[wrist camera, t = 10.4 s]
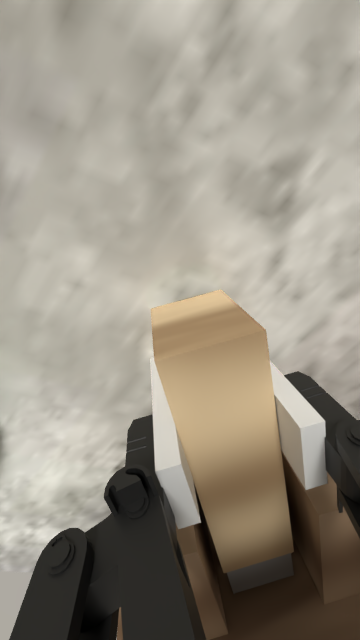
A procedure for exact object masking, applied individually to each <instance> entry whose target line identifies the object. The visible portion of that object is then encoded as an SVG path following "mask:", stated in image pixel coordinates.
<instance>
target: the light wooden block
mask: <svg viewBox="0 0 360 640" xmlns="http://www.w3.org/2000/svg"><path fill="white" fill-rule="evenodd" d="M151 320H152V334H153V349H154V362H155V365H156V368H157V371H158V374H159V377H160V380H161V383H162V386H163V389H164V392H165V395H166V398H167V402H168V405H169V408H170V411H171V414H172V417H173V420H174V423H175V426H176V429H177V432H178V435H179V438H180V441H181V444H182V447H183V450H184V453H185V456H186V459H187V462H188V465H189V468H190V471H191V474H192V477H193V481H194V484H195V487H196V490H197V493H198V496H199V500H200V503H201V506H202V509H203V512H204V515H205V518H206V521H207V524H208V527H209V530H210V533H211V536H212V539H213V542H214V545H215V549H216V552H217V555H218V558H219V561H220V564H221V567H222V570H223V573H227V575H228V578H229V581H230V585H231V588H232V591H233V594H235V593H238V592H241V591H244V590H247V589H251V588H254V587H257V586H260V585H264V584H267V583H270V582H273V581H276V580H280V579H283V578H286V577H289V576H293V575H294V571H293V564H292V556H291V553H292V552H294V548H293V540H292V532H291V524H290V516H289V508H288V501H287V493H286V485H285V477H284V469H283V461H282V453H281V445H280V438H279V430H278V422H277V414H276V406H275V398H274V390H273V382H272V375H271V367H270V359H269V351H268V343H267V335H266V330H265V329H264V328H263V327H262V326H261V325H260V324H259V323H257V322H256V321H255V320H254V319H253V318H252V317H251V316H250V315H249V314H247V313H246V312H245V311H244V310H243V309H242V308H241V307H240V306H239V305H237V304H236V303H235V302H234V301H233V300H232V299H231V298H230V297H229V296H228V295H226V294H225V293H224V292H223V291H222V290H218V291H214V292H210V293H207V294H203V295H199V296H196V297H192V298H188V299H185V300H181V301H177V302H174V303H170V304H166V305H163V306H159V307H156V308H152V309H151Z"/></svg>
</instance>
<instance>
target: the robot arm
mask: <svg viewBox="0 0 360 640" xmlns="http://www.w3.org/2000/svg"><path fill="white" fill-rule="evenodd" d="M150 364H151V387H152V410H153V415H149V416H146V417H142V418H139V419H135V420H133V422H132V424H131V426H130V428H129V430H128V438H127V443H128V444H127V450H126V451H127V453H126V463H125V467H123V468H122V469H120V470H119V471H117V472H116V473H115V474H114V475H113V476H112V477H111V479H110V480H109V482H108V484H107V486H106V488H105V493H104V499H105V501H106V503H107V504H108V506H109V508H110V510H111V512H112V513H111V514H110V515H109V516H108V517H107V518H106V519H104V520H103V521H102V522H100V523H99V524H97V525H96V526H94V527H93V528H91V529H90V530H88V531H87V532H85V533H84V532H83V531H82V530H80V529H79V528H69V529H67V530H64V531H62V532H60V533H59V534H58V535H57V536H55V537H54V538H53V539H52V540H51V541H50V542H49V543H48V544H47V546H46V547H45V548H44V550H43V551H42V553H41V555H40V557H39V559H38V561H37V563H36V566H35V569H34V572H33V575H32V577H31V580H30V583H29V586H28V589H27V591H26V594H25V597H24V600H23V603H22V605H21V608H20V611H19V614H18V617H17V620H16V623H15V625H14V628H13V631H12V634H11V636H10V639H9V640H116V637H117V627H118V617H119V608H120V607H121V619H122V633H123V640H206V637H205V633H204V629H203V626H202V622H201V619H200V615H199V611H198V608H197V604H196V601H195V597H194V593H193V590H192V586H191V583H190V579H189V576H188V572H187V568H186V565H185V561H184V558H183V554H182V550H181V547H180V544H179V542H178V540H177V533H176V525H177V527H178V529H181V528H185V527H188V526H191V525H194V524H198V523H201V520H200V514H199V509H198V504H197V498H196V493H195V488H194V482H193V477H192V474H191V471H190V468H189V465H188V462H187V459H186V456H185V453H184V450H183V447H182V444H181V441H180V438H179V435H178V432H177V429H176V426H175V423H174V420H173V417H172V414H171V411H170V408H169V405H168V402H167V398H166V395H165V392H164V389H163V386H162V383H161V380H160V377H159V374H158V371H157V368H156V365H155V362H154V357H153V358H150ZM270 367H271V375H272V382H273V390H274V398H275V406H276V414H277V422H278V430H279V438H280V445H281V450H282V452H283V453H284V455H285V457H286V458H287V460H288V462H289V463H290V465H291V467H292V468H293V470H294V472H295V473H296V475H297V477H298V478H299V480H300V482H301V483H302V485H303V486H304V488H305V490H308V489H311V488H315V487H318V486H321V485H324V484H327V483H328V480H327V472H328V473H329V475H330V476H331V478H332V479H333V480H334V482H335V483H336V484H337V507H338V511H339V513H343V507H344V509H345V511H346V513H347V515H348V517H349V519H350V521H351V523H352V524H353V526H354V528H355V530H356V532H357V534H358V536H359V538H360V420H356V419H355V418H354V417H353V416H352V415H350V414H349V413H348V412H347V411H346V410H345V409H344V408H343V407H342V406H341V405H340V404H339V403H338V402H336V401H335V400H334V399H333V398H332V397H331V396H330V395H329V394H328V393H326V391H325V390H324V389H322V388H321V387H320V386H319V385H318V384H317V383H316V382H315V381H314V380H313V379H312V378H311V377H309V376H307V375H305V374H303V373H300V372H298V371H297V372H294V373H291V374H287V375H283V374H282V373H281V372H280V371H279V370H278V369H277V368H276V367H275V365H274V364H273V363H272V362H271V361H270ZM175 522H176V523H175Z"/></svg>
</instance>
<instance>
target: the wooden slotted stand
mask: <svg viewBox="0 0 360 640" xmlns="http://www.w3.org/2000/svg"><path fill="white" fill-rule="evenodd" d="M281 453H282V461H283V469H284V477H285V485H286V493H287V501H288V508H289V516H290V524H291V532H292V540H293V548H294V552H292V553H291V556H292V564H293V571H294V575H293V576H289V577H286V578H283V579H280V580H276V581H273V582H270V583H267V584H264V585H260V586H257V587H254V588H251V589H247V590H244V591H241V592H238V593H235V594H233V591H232V588H231V585H230V581H229V578H228V575H227V573H223V570H222V567H221V564H220V561H219V558H218V555H217V552H216V549H215V545H214V542H213V539H212V536H211V533H210V530H209V527H208V524H207V521H206V518H205V515H204V512H203V509H202V506H201V503H200V500H199V496H198V493H197V490H196V487H195V484H194V488H195V493H196V498H197V504H198V509H199V514H200V520H201V523H198V524H194V525H191V526H188V527H185V528H181V529H178V527H177V525H176V533H177V540H178V542H179V544H180V547H181V550H182V554H183V558H184V561H185V565H186V568H187V572H188V576H189V579H190V583H191V586H192V590H193V593H194V597H195V601H196V604H197V608H198V611H199V615H200V619H201V622H202V626H203V629H204V633H205V637H206V640H360V538H359V536H358V534H357V532H356V530H355V528H354V526H353V524H352V523H351V521H350V519H349V517H348V515H347V513H346V511H345V509H344V507H343V513H339V511H338V507H337V484H336V483H335V482H334V480H333V479H332V478H331V476H330V475H329V473H328V472H327V480H328V483H327V484H324V485H321V486H318V487H315V488H311V489H308V490H305V488H304V486H303V485H302V483H301V482H300V480H299V478H298V477H297V475H296V473H295V472H294V470H293V468H292V467H291V465H290V463H289V462H288V460H287V458H286V457H285V455H284V453H283V452H282V450H281ZM193 482H194V481H193ZM175 523H176V522H175ZM117 640H123V633H122V619H121V607H120V608H119V617H118V629H117Z"/></svg>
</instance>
